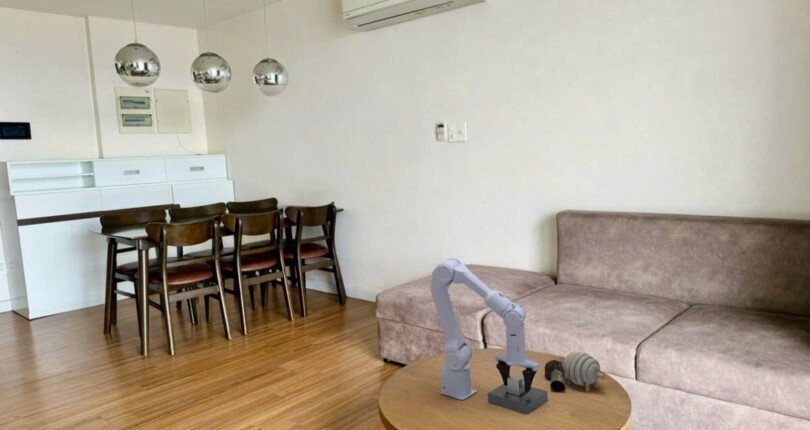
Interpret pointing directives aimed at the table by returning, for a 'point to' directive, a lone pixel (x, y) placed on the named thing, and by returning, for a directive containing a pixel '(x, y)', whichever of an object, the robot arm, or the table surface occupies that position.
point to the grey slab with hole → (518, 399)
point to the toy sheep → (582, 369)
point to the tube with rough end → (555, 375)
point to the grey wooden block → (516, 385)
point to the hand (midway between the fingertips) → (517, 387)
